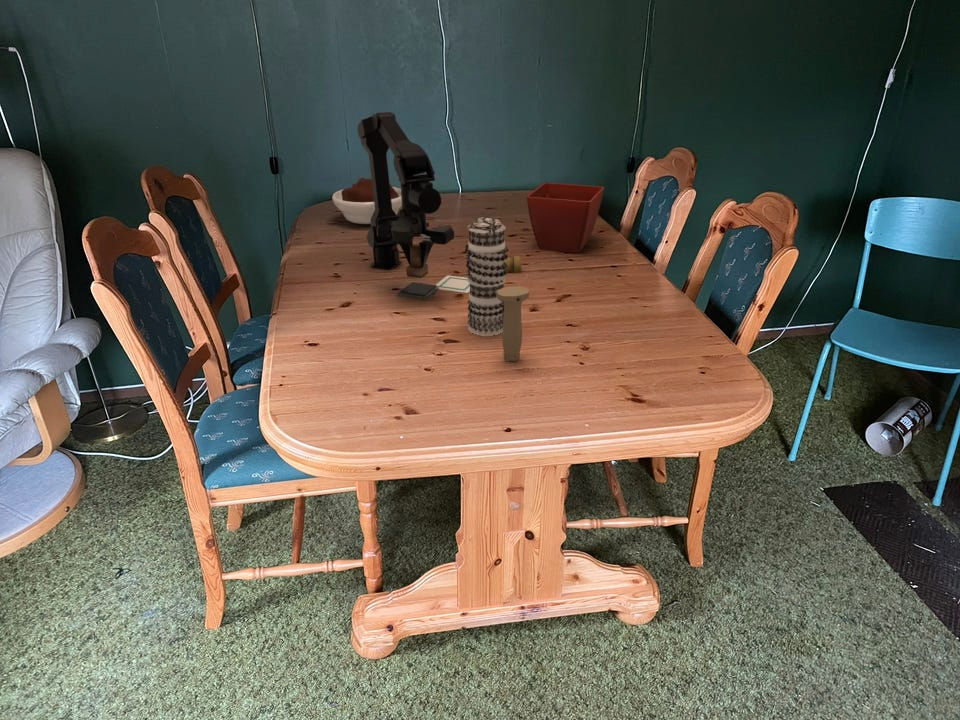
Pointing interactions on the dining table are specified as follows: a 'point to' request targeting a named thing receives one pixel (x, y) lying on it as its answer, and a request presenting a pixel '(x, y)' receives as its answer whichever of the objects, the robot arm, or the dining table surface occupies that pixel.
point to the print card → (454, 284)
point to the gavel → (513, 264)
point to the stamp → (416, 263)
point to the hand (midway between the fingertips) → (416, 265)
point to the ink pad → (418, 291)
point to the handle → (512, 320)
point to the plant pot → (563, 215)
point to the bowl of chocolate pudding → (362, 201)
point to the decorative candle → (486, 275)
